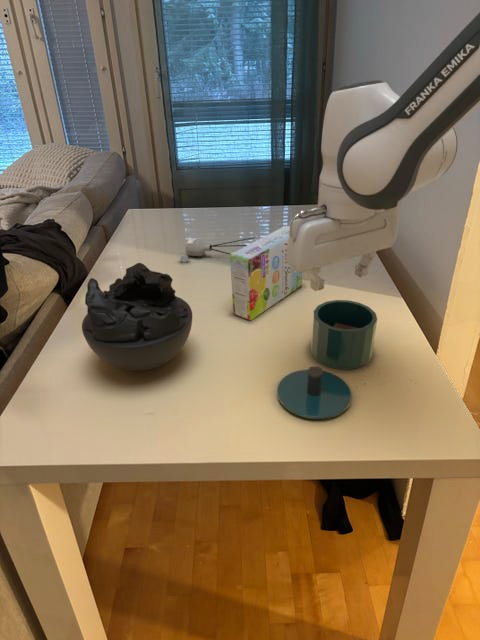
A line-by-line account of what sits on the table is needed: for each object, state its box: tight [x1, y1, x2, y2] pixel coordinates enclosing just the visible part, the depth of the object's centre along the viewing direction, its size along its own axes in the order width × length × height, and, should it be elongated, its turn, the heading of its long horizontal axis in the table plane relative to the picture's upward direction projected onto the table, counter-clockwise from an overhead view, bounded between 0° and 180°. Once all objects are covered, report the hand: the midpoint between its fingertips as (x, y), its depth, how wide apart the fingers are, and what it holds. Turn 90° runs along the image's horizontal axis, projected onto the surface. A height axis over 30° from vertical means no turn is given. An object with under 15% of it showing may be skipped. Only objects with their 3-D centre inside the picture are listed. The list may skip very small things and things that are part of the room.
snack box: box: [229, 225, 303, 321], centre depth 107 cm, size 21×6×15 cm, turn 141°
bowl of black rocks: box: [81, 262, 193, 372], centre depth 86 cm, size 20×20×19 cm
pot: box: [310, 299, 378, 371], centre depth 90 cm, size 12×12×8 cm
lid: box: [276, 366, 352, 420], centre depth 79 cm, size 13×13×6 cm
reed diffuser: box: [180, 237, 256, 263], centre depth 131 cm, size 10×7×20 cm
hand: (339, 281), depth 78 cm, fingers open, 8 cm apart
